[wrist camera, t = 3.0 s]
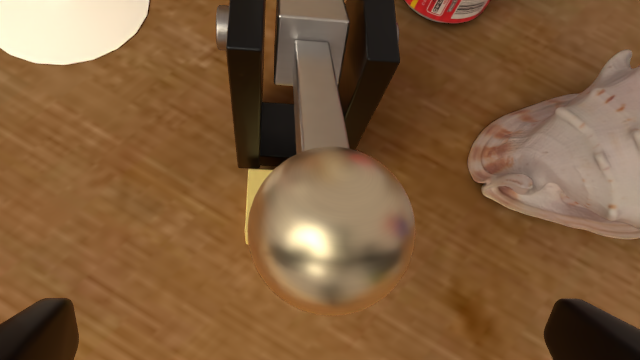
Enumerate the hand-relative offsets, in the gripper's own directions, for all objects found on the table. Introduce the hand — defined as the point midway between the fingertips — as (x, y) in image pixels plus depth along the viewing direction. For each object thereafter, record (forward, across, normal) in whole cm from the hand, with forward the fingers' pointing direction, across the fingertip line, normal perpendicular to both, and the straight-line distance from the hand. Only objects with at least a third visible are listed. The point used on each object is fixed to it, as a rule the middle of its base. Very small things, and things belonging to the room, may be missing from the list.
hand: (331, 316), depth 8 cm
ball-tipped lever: (+5, 0, -1) cm, 6 cm away
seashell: (+14, -16, +3) cm, 21 cm away
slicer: (+15, 0, +2) cm, 15 cm away
